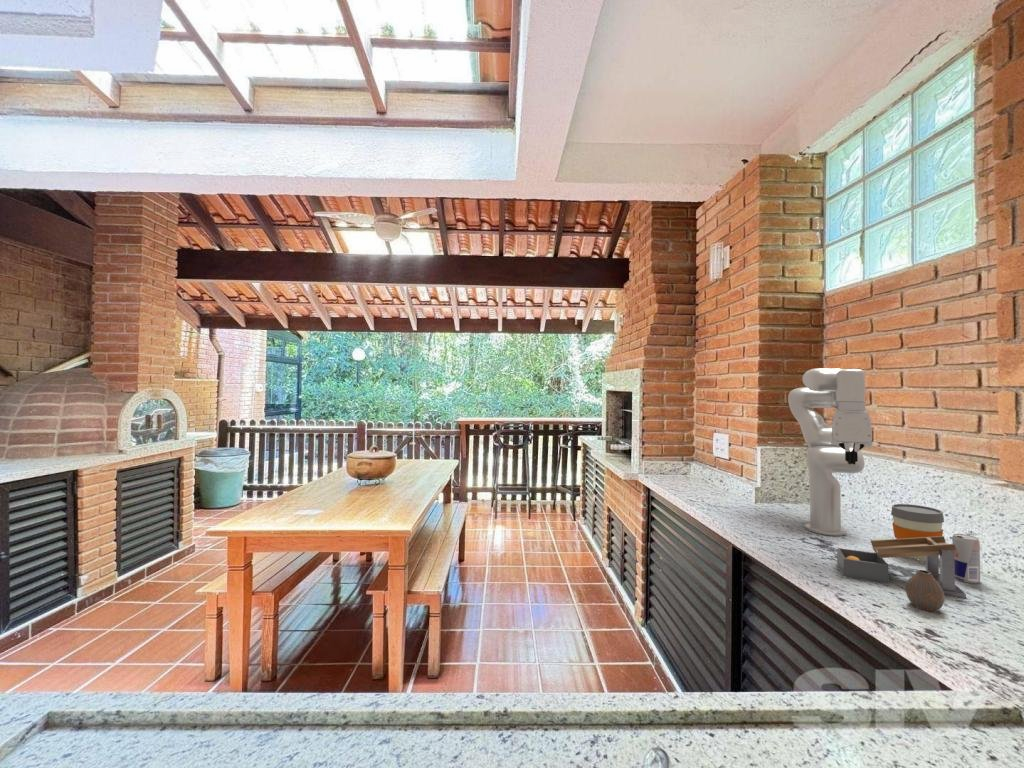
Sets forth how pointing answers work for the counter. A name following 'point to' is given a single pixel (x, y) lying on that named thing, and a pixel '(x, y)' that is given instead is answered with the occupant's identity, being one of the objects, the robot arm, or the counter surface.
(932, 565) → the stand
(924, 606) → the vase
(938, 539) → the wooden tilting tray
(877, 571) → the bin
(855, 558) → the ball
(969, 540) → the energy drink
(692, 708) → the counter surface
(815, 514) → the robot arm
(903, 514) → the reusable coffee cup
